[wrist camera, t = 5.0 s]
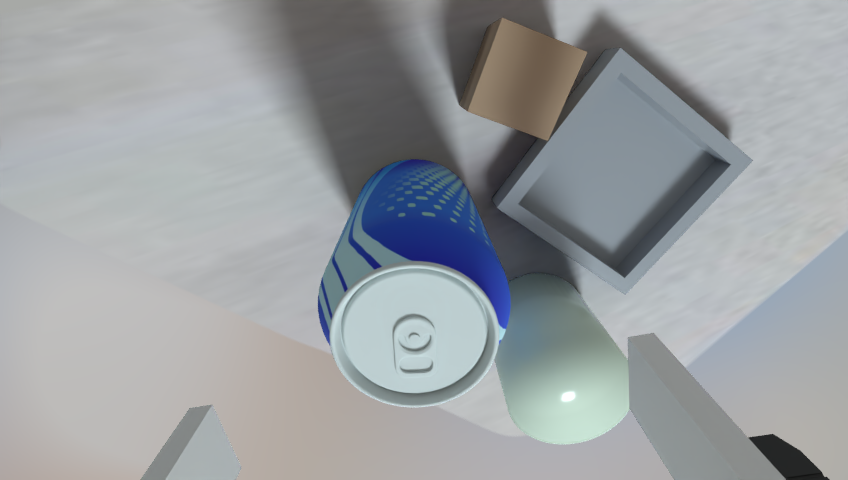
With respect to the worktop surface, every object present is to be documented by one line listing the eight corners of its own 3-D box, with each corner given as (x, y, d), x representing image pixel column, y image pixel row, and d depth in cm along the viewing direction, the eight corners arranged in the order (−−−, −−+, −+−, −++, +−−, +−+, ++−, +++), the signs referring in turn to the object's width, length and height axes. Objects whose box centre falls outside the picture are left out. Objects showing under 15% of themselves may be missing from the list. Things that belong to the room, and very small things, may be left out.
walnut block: (459, 104, 29) (467, 111, 24) (487, 26, 27) (502, 17, 22) (526, 130, 30) (547, 141, 25) (558, 55, 28) (587, 51, 23)
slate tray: (491, 198, 31) (497, 207, 29) (605, 49, 28) (620, 47, 26) (612, 281, 34) (625, 294, 32) (730, 154, 30) (753, 160, 28)
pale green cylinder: (465, 329, 35) (481, 410, 27) (527, 254, 33) (565, 317, 25) (540, 373, 37) (576, 462, 29) (604, 305, 35) (664, 380, 26)
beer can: (334, 223, 32) (263, 360, 17) (402, 130, 29) (389, 193, 14) (425, 284, 34) (434, 455, 19) (495, 202, 31) (569, 321, 16)
